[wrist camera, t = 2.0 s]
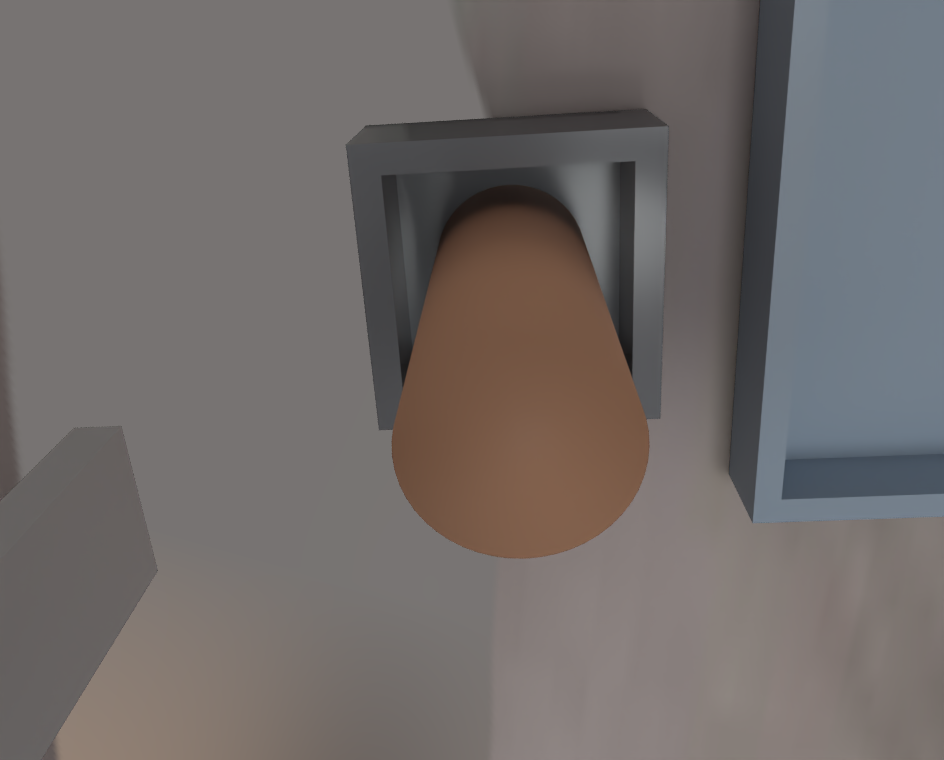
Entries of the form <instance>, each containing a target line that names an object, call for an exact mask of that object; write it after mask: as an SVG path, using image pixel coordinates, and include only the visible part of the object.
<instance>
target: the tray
mask: <svg viewBox="0 0 944 760" xmlns="http://www.w3.org/2000/svg"><path fill="white" fill-rule="evenodd" d="M729 475H730V477H731V479H732V481H733V483H734V485H735V488H736V490H737V492H738V494H739V496H740V498H741V500H742V502H743V504H744V506H745V508H746V510H747V512H748V514H749V517H750V519H751V521H752V523H771V522H800V521H828V520H857V519H886V518H914V517H943V516H944V0H760V13H759V28H758V43H757V58H756V73H755V88H754V103H753V118H752V134H751V149H750V164H749V179H748V194H747V209H746V224H745V239H744V254H743V269H742V284H741V299H740V314H739V329H738V344H737V359H736V374H735V389H734V405H733V420H732V435H731V450H730V465H729Z"/></svg>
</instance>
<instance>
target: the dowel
mask: <svg viewBox="0 0 944 760" xmlns="http://www.w3.org/2000/svg"><path fill="white" fill-rule="evenodd" d="M648 456H649V430H648V426H647V421H646V416H645V413H644V410H643V407H642V405H641V402H640V399H639V396H638V393H637V390H636V387H635V385H634V382H633V379H632V376H631V373H630V370H629V367H628V365H627V362H626V359H625V356H624V353H623V350H622V347H621V345H620V342H619V339H618V336H617V333H616V330H615V327H614V325H613V322H612V319H611V316H610V313H609V310H608V307H607V305H606V302H605V299H604V296H603V293H602V290H601V287H600V285H599V282H598V279H597V276H596V273H595V270H594V267H593V264H592V262H591V259H590V256H589V253H588V250H587V247H586V244H585V242H584V239H583V236H582V233H581V230H580V228H579V226H578V224H577V222H576V220H575V218H574V217H573V216H572V214H571V213H570V211H569V210H568V209H567V208H566V207H565V206H564V205H563V204H562V203H561V202H559V201H558V200H557V199H556V198H554V197H552V196H551V195H549V194H547V193H545V192H543V191H541V190H539V189H536V188H532V187H528V186H522V185H503V186H496V187H492V188H489V189H486V190H484V191H481V192H479V193H477V194H475V195H473V196H472V197H470V198H469V199H467V200H466V201H465V202H463V203H462V204H461V205H460V206H459V207H458V208H457V209H456V210H455V211H454V213H453V214H452V215H451V217H450V218H449V220H448V221H447V223H446V225H445V227H444V229H443V232H442V234H441V237H440V241H439V245H438V249H437V253H436V257H435V261H434V265H433V269H432V273H431V277H430V281H429V285H428V289H427V293H426V297H425V301H424V305H423V310H422V314H421V318H420V322H419V326H418V330H417V334H416V338H415V342H414V346H413V350H412V354H411V358H410V362H409V366H408V370H407V374H406V378H405V382H404V386H403V390H402V394H401V398H400V402H399V406H398V410H397V414H396V418H395V422H394V426H393V435H392V458H393V463H394V469H395V473H396V476H397V479H398V482H399V485H400V487H401V489H402V490H403V493H404V495H405V497H406V498H407V500H408V501H409V503H410V504H411V506H412V507H413V509H414V510H415V511H416V512H417V513H418V515H419V516H420V517H421V518H422V519H423V520H424V521H425V522H426V523H427V524H428V525H429V526H431V527H432V528H433V529H434V530H435V531H436V532H438V533H440V534H441V535H443V536H444V537H445V538H447V539H449V540H450V541H453V542H454V543H456V544H458V545H460V546H462V547H465V548H467V549H470V550H473V551H475V552H478V553H483V554H487V555H491V556H496V557H504V558H536V557H543V556H548V555H553V554H557V553H561V552H564V551H567V550H570V549H573V548H575V547H577V546H579V545H581V544H584V543H586V542H587V541H589V540H591V539H592V538H594V537H596V536H598V535H599V534H600V533H602V532H603V531H604V530H606V529H607V528H608V527H609V526H611V525H612V524H613V523H614V522H615V521H616V520H617V519H618V518H619V517H620V516H621V515H622V514H623V512H624V511H625V510H626V509H627V507H628V506H629V505H630V503H631V502H632V500H633V499H634V497H635V495H636V493H637V492H638V490H639V488H640V485H641V483H642V480H643V478H644V475H645V471H646V467H647V463H648Z"/></svg>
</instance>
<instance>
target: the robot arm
mask: <svg viewBox="0 0 944 760" xmlns="http://www.w3.org/2000/svg"><path fill="white" fill-rule="evenodd" d="M157 571H158V570H157V566H156V562H155V558H154V554H153V550H152V546H151V542H150V538H149V534H148V530H147V526H146V522H145V518H144V514H143V510H142V506H141V502H140V498H139V494H138V490H137V486H136V482H135V478H134V474H133V470H132V466H131V462H130V458H129V455H128V451H127V447H126V443H125V439H124V435H123V431H122V427H121V426H112V427H88V428H87V427H85V428H74V429H73V430H72V431H71V432H70V433H69V434H68V435H66V437H64V438H63V440H62V441H61V442H59V444H57V445H56V446H55V448H53V450H51V451H50V452H49V453H48V454H47V455H46V456H45V457H44V458H43V459H42V460H41V461H40V462H39V463H38V464H37V465H36V466H35V467H34V468H33V469H32V470H31V471H30V472H29V473H28V474H27V475H26V476H25V477H24V478H23V479H22V480H21V481H20V482H19V483H18V484H17V485H16V486H15V487H14V488H13V489H12V490H11V491H10V492H9V493H8V494H7V495H6V496H5V497H4V498H3V499H2V500H1V501H0V760H41V759H42V758H43V756H44V755H45V753H46V751H47V750H48V748H49V746H50V745H51V743H52V742H53V740H54V738H55V737H56V735H57V733H58V732H59V730H60V729H61V727H62V725H63V724H64V722H65V720H66V719H67V717H68V715H69V714H70V712H71V710H72V709H73V707H74V706H75V704H76V703H77V701H78V699H79V698H80V696H81V694H82V693H83V691H84V690H85V688H86V686H87V685H88V683H89V681H90V680H91V678H92V676H93V675H94V673H95V672H96V670H97V668H98V667H99V665H100V664H101V662H102V660H103V659H104V657H105V655H106V654H107V652H108V651H109V649H110V647H111V646H112V644H113V642H114V641H115V639H116V638H117V636H118V634H119V633H120V631H121V629H122V628H123V626H124V625H125V623H126V621H127V620H128V618H129V616H130V615H131V613H132V612H133V610H134V608H135V607H136V605H137V603H138V602H139V600H140V599H141V597H142V595H143V594H144V592H145V590H146V589H147V587H148V586H149V584H150V582H151V581H152V579H153V577H154V576H155V574H156V573H157Z"/></svg>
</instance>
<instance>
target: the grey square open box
mask: <svg viewBox="0 0 944 760" xmlns="http://www.w3.org/2000/svg"><path fill="white" fill-rule="evenodd" d="M668 138H669V126H668V125H667V124H665V123H664V122H663V121H661V120H660V119H659V118H657V117H656V116H655V115H653V114H652V113H651V112H649V111H648V110H647V109H638V110H621V111H605V112H588V113H571V114H554V115H537V116H521V117H504V118H487V119H470V120H453V121H436V122H420V123H404V124H387V125H369V126H365V127H364V129H362V130H361V131H360V132H359V133H358V134H357V135H356V136H355V137H354V138H353V139H352V140H351V141H350V142H349V143H348V144H346V150H347V158H348V167H349V176H350V184H351V193H352V201H353V210H354V219H355V227H356V235H357V244H358V253H359V262H360V269H361V279H362V287H363V296H364V304H365V313H366V322H367V330H368V339H369V347H370V355H371V364H372V373H373V382H374V390H375V399H376V408H377V416H378V425H379V430H393V426H394V422H395V418H396V414H397V410H398V406H399V402H400V398H401V394H402V390H403V386H404V382H405V378H406V374H407V370H408V366H409V362H410V358H411V354H412V350H413V346H414V342H415V338H416V334H417V330H418V326H419V322H420V318H421V314H422V310H423V305H424V301H425V297H426V293H427V289H428V285H429V281H430V277H431V273H432V269H433V265H434V261H435V257H436V253H437V249H438V245H439V241H440V237H441V234H442V232H443V229H444V227H445V225H446V223H447V221H448V220H449V218H450V217H451V215H452V214H453V213H454V211H455V210H456V209H457V208H458V207H459V206H460V205H461V204H462V203H463V202H465V201H466V200H467V199H469V198H470V197H472V196H473V195H475V194H477V193H479V192H481V191H484V190H486V189H489V188H492V187H496V186H503V185H522V186H528V187H532V188H536V189H539V190H541V191H543V192H545V193H547V194H549V195H551V196H552V197H554V198H556V199H557V200H558V201H559V202H561V203H562V204H563V205H564V206H565V207H566V208H567V209H568V210H569V211H570V213H571V214H572V216H573V217H574V218H575V220H576V222H577V224H578V226H579V228H580V230H581V233H582V236H583V239H584V242H585V244H586V247H587V250H588V253H589V256H590V259H591V262H592V264H593V267H594V270H595V273H596V276H597V279H598V282H599V285H600V287H601V290H602V293H603V296H604V299H605V302H606V305H607V307H608V310H609V313H610V316H611V319H612V322H613V325H614V327H615V330H616V333H617V336H618V339H619V342H620V345H621V347H622V350H623V353H624V356H625V359H626V362H627V365H628V367H629V370H630V373H631V376H632V379H633V382H634V385H635V387H636V390H637V393H638V396H639V399H640V402H641V405H642V407H643V410H644V413H645V416H646V419H660V412H661V378H662V343H663V309H664V275H665V241H666V206H667V172H668Z"/></svg>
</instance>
